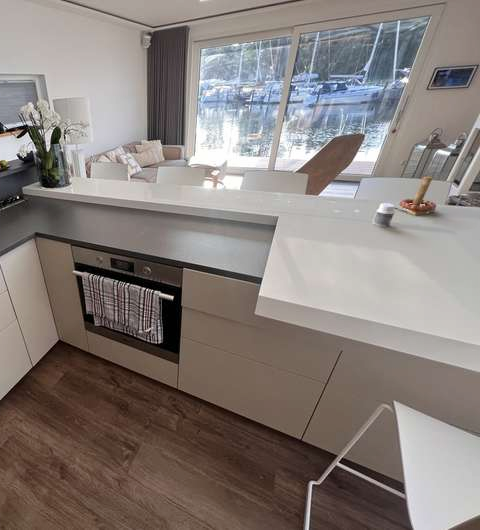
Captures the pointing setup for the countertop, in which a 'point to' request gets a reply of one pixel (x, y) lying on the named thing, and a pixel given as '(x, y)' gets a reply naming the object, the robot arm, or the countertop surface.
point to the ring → (427, 207)
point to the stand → (421, 195)
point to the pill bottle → (384, 215)
